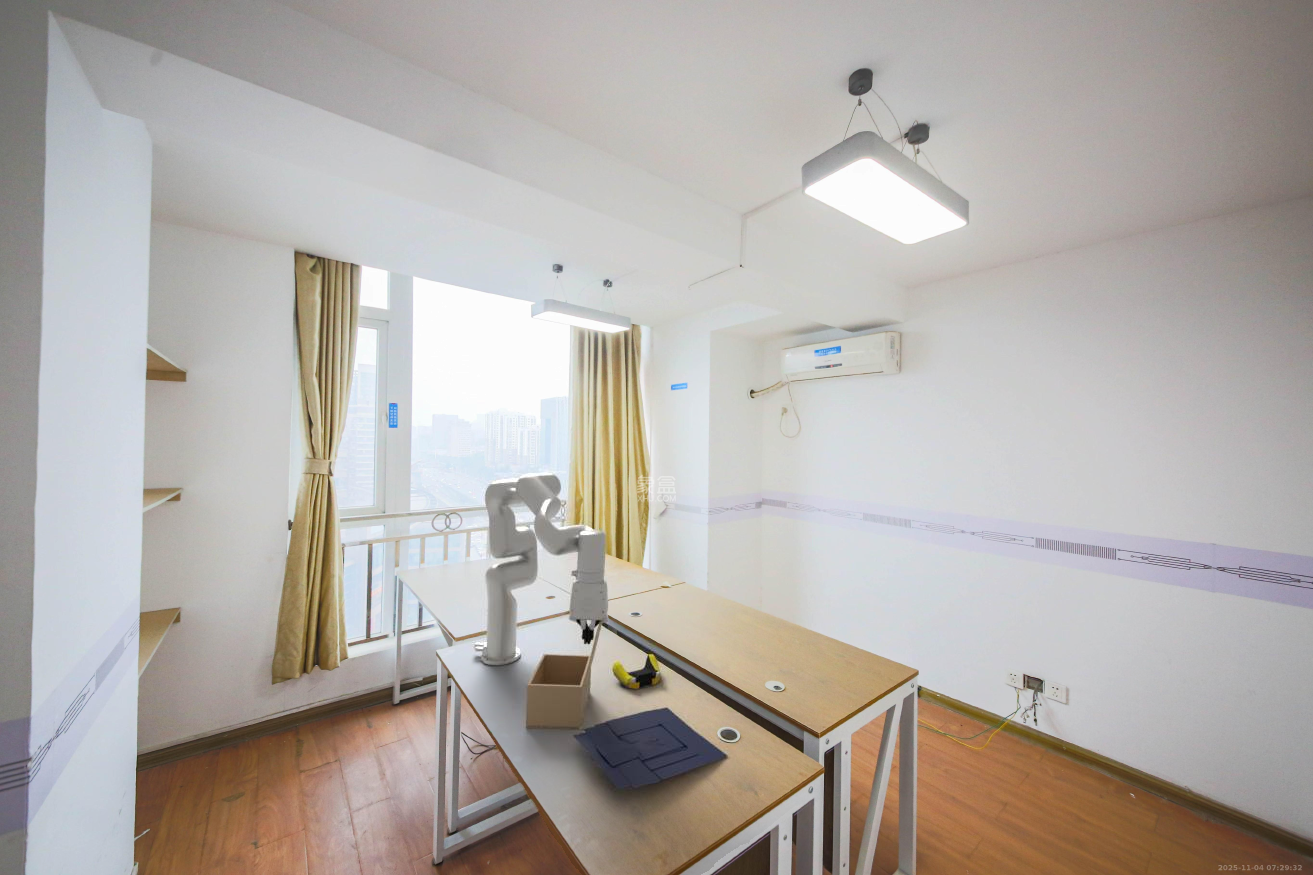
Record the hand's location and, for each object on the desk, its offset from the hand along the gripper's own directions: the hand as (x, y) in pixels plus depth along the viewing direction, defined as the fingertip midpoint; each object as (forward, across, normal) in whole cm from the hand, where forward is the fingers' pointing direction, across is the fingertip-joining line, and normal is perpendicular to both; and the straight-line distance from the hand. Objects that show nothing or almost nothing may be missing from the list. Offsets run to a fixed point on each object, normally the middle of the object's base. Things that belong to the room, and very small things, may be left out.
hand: (587, 641), depth 127 cm
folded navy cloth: (+19, +18, -16) cm, 31 cm away
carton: (+19, -7, -1) cm, 20 cm away
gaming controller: (+19, +14, +16) cm, 29 cm away
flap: (0, +2, 0) cm, 2 cm away
